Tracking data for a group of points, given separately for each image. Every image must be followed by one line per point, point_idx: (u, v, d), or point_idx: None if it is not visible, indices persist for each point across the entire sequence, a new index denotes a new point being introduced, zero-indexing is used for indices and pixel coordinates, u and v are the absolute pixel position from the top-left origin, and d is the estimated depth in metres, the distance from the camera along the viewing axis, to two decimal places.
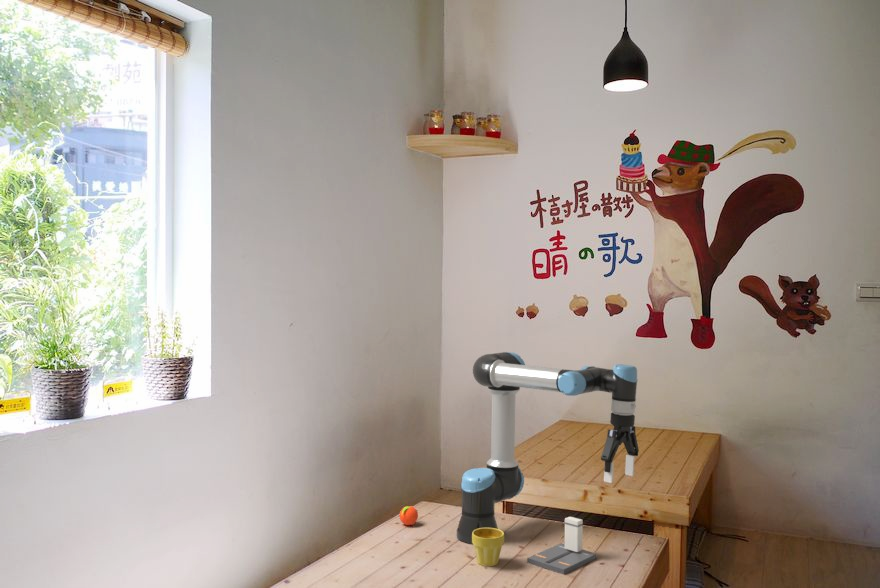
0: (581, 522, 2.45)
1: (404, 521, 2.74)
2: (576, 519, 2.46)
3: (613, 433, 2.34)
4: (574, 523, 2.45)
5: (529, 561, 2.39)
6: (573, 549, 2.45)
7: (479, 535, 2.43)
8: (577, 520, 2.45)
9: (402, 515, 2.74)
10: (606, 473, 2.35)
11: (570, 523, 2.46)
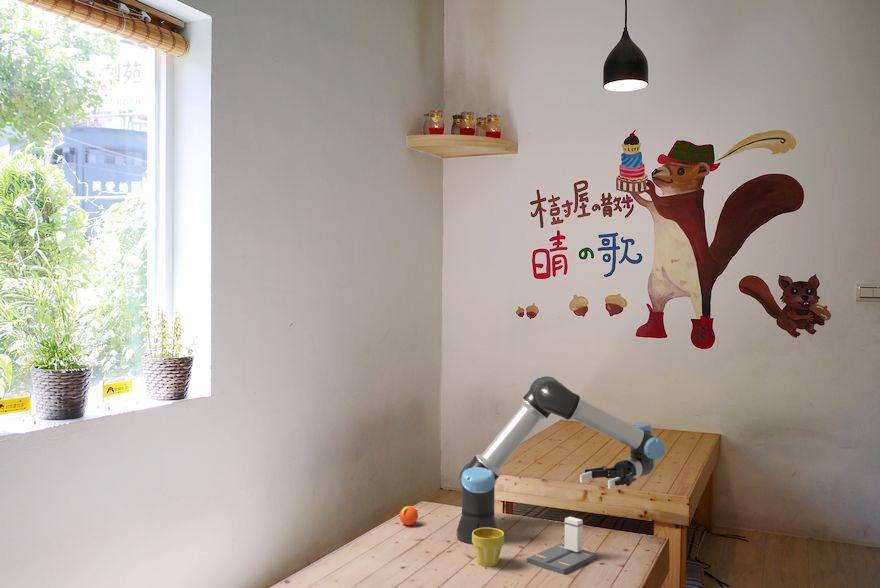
0: (581, 522, 2.45)
1: (404, 521, 2.74)
2: (576, 519, 2.46)
3: (635, 479, 2.62)
4: (574, 523, 2.45)
5: (529, 561, 2.39)
6: (573, 549, 2.45)
7: (479, 535, 2.43)
8: (577, 520, 2.45)
9: (402, 515, 2.74)
10: (614, 481, 2.53)
11: (570, 523, 2.46)
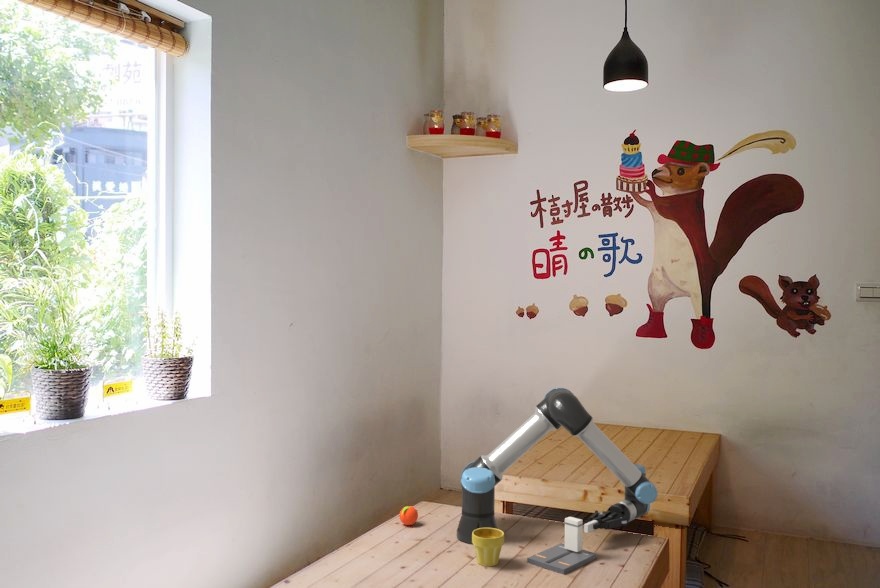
0: (581, 522, 2.45)
1: (404, 521, 2.74)
2: (576, 519, 2.46)
3: (624, 524, 2.59)
4: (574, 523, 2.45)
5: (529, 561, 2.39)
6: (573, 549, 2.45)
7: (479, 535, 2.43)
8: (577, 520, 2.45)
9: (402, 515, 2.74)
10: (591, 525, 2.53)
11: (570, 523, 2.46)
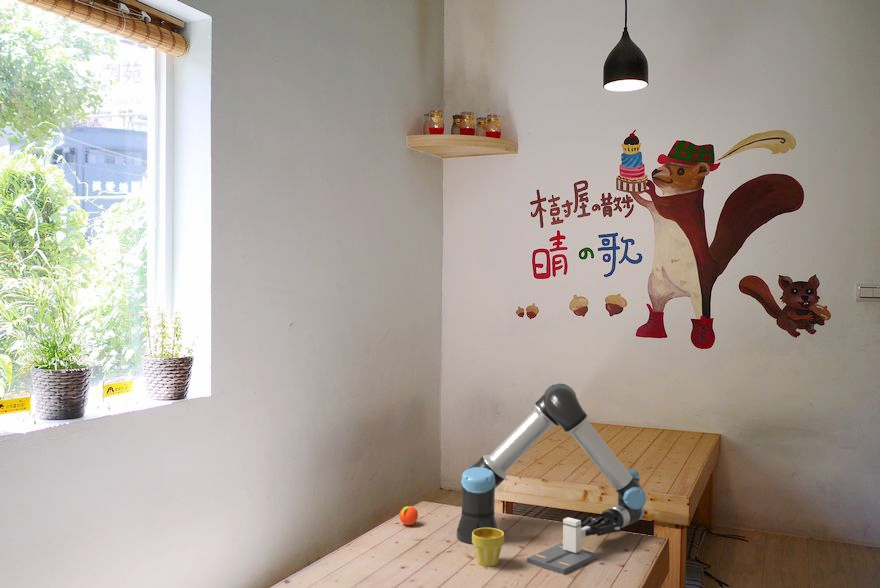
0: (579, 523, 2.45)
1: (404, 521, 2.74)
2: (574, 520, 2.46)
3: (618, 530, 2.53)
4: (572, 524, 2.44)
5: (529, 561, 2.39)
6: (571, 550, 2.44)
7: (479, 535, 2.43)
8: (576, 521, 2.45)
9: (402, 515, 2.74)
10: (584, 532, 2.48)
11: (569, 524, 2.45)
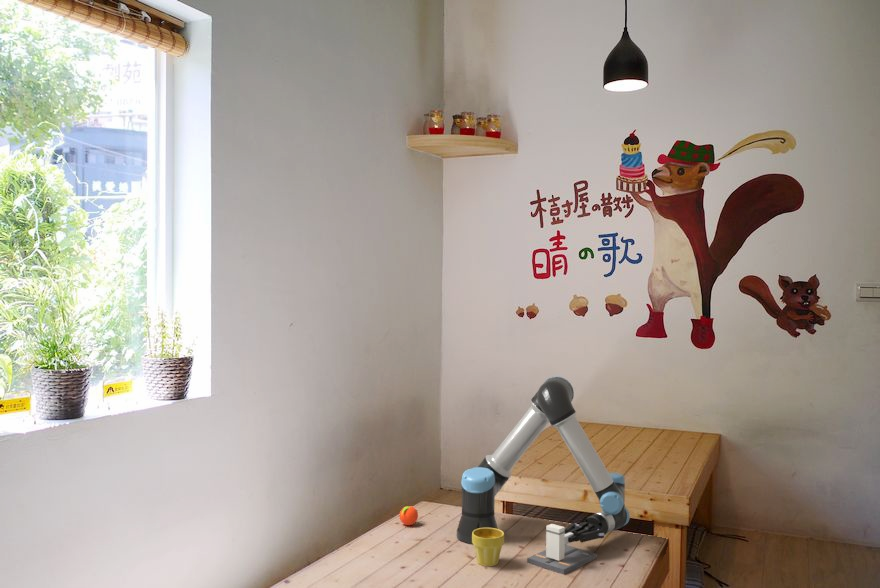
0: (563, 529, 2.38)
1: (404, 521, 2.74)
2: (558, 526, 2.39)
3: (602, 536, 2.47)
4: (556, 531, 2.37)
5: (529, 561, 2.39)
6: (555, 557, 2.37)
7: (479, 535, 2.43)
8: (559, 527, 2.38)
9: (402, 515, 2.74)
10: (567, 538, 2.41)
11: (552, 531, 2.38)
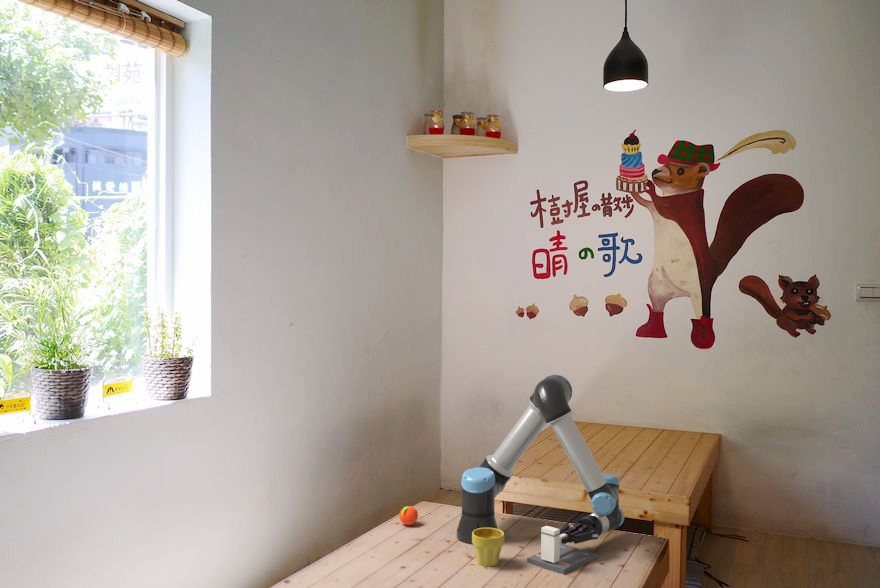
0: (558, 532, 2.36)
1: (404, 521, 2.74)
2: (553, 528, 2.37)
3: (596, 538, 2.45)
4: (551, 533, 2.35)
5: (529, 561, 2.39)
6: (550, 560, 2.35)
7: (479, 535, 2.43)
8: (554, 529, 2.36)
9: (402, 515, 2.74)
10: (560, 539, 2.40)
11: (547, 533, 2.36)
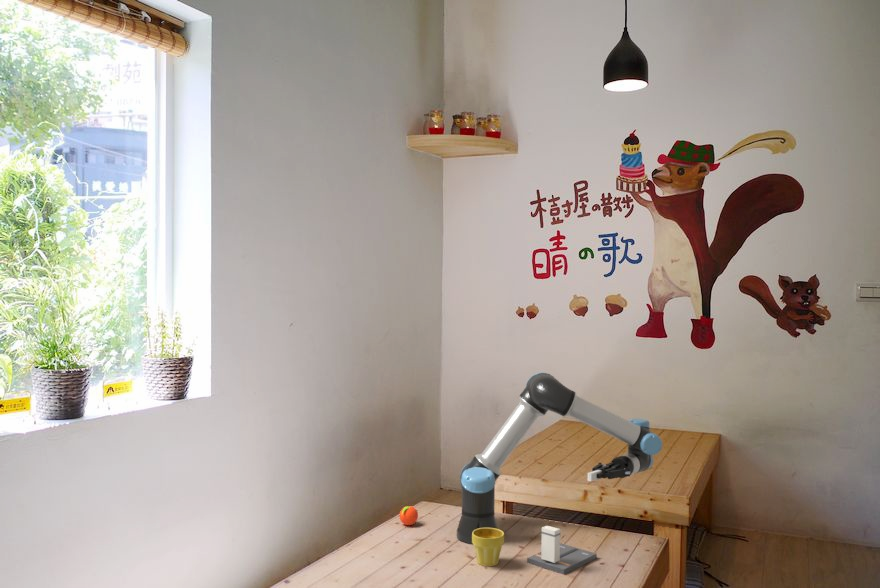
0: (558, 531, 2.36)
1: (404, 521, 2.74)
2: (553, 528, 2.37)
3: (628, 475, 2.60)
4: (551, 532, 2.35)
5: (529, 561, 2.39)
6: (550, 560, 2.35)
7: (479, 535, 2.43)
8: (555, 529, 2.36)
9: (402, 515, 2.74)
10: (595, 474, 2.54)
11: (547, 533, 2.36)
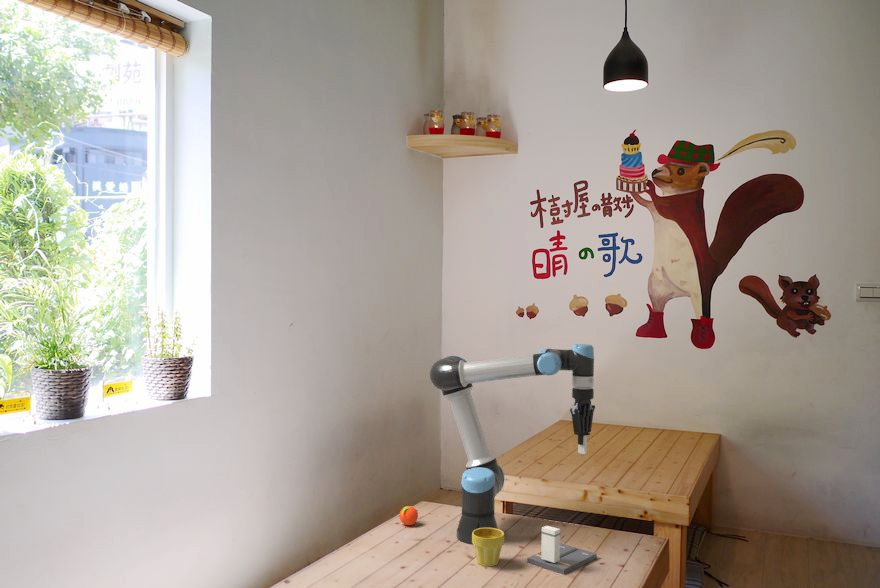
0: (558, 531, 2.36)
1: (404, 521, 2.74)
2: (553, 528, 2.37)
3: (575, 412, 2.61)
4: (551, 532, 2.35)
5: (529, 561, 2.39)
6: (550, 560, 2.35)
7: (479, 535, 2.43)
8: (555, 529, 2.36)
9: (402, 515, 2.74)
10: (580, 446, 2.66)
11: (547, 533, 2.36)
